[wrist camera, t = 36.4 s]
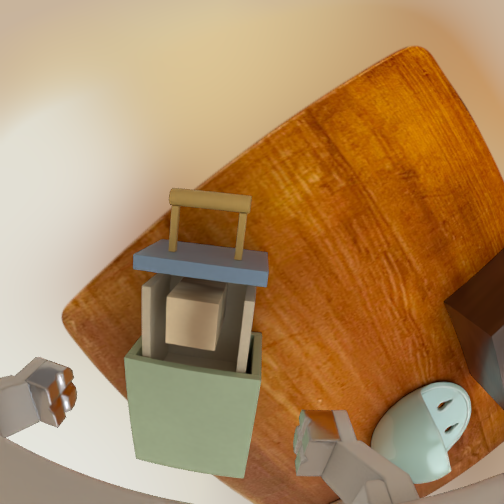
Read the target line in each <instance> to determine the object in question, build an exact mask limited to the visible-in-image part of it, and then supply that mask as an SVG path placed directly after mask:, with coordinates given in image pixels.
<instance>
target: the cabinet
mask: <svg viewBox="0 0 504 504" xmlns="http://www.w3.org/2000/svg"><path fill="white" fill-rule="evenodd" d="M261 360H262V333H259V332H251V336H250V344H249V351H248V359H247V366H246V373H237V372H229V371H222V370H215V369H208V368H202V367H196V366H190V365H184V364H178V363H173V362H167V361H162V360H157V359H152V358H147V357H142V335H141V337H140V338H139V339H138V340H137V342H136V343H135V344H134V345H133V347H132V348H131V349H130V350H129V352H128V353H127V354H126V355H125V357H124V364H125V376H126V387H127V397H128V405H129V413H130V422H131V428H132V435H133V442H134V448H135V454H136V459H140V460H144V461H147V462H151V463H155V464H160V465H164V466H169V467H174V468H178V469H183V470H188V471H194V472H200V473H207V474H212V475H219V476H227V477H235V478H244V474H245V469H246V463H247V458H248V453H249V447H250V442H251V436H252V431H253V425H254V419H255V414H256V408H257V402H258V396H259V390H260V384H261Z"/></svg>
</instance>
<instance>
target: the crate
mask: <svg viewBox="0 0 504 504" xmlns="http://www.w3.org/2000/svg"><path fill="white" fill-rule="evenodd" d="M444 303H445V306H446V308H447V311H448V313H449V316H450V318H451V321H452V323H453V326H454V328H455V331H456V334H457V336H458V339H459V342H460V345H461V347H462V350H463V353H464V356H465V359H466V362H467V365H468V368H469V371H470V374H471V376H472V377H473V378H474V379H475V380H476V381H477V382H478V383H479V384H480V385H481V386H482V387H483V388H484V389H485V390H486V391H487V393H488V394H489V395H490V396H491V397H492V398H493V399H494V400H495V401H496V402H497V403H498V404H499V405H500V406H501V408H502V409H503V410H504V248H503V249H502V250H501V251H500V252H499V253H498V254H497V255H496V256H495V257H494V258H493V259H492V260H491V261H490V262H489V263H488V264H487V265H486V266H485V267H483V268H482V269H481V270H480V271H479V272H478V273H477V274H476V275H475V276H473V277H472V278H471V279H470V280H469V281H468V282H467V283H465V284H464V285H463V286H462V287H461V288H460V289H458V290H457V291H456V292H455V293H454V294H452V295H451V296H450V297H449V298H448V299H446V300H445V301H444Z"/></svg>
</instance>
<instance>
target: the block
mask: <svg viewBox="0 0 504 504" xmlns="http://www.w3.org/2000/svg"><path fill="white" fill-rule="evenodd" d="M227 291H228V282H220V281H213V280H205V279H198V278H191V277H183V278H182V280H181V281H180V282H179V283H178V284H177V285H176V286H175V288H174V289H173V290H172V291H171V292H170V293H169V295H168V296H167V301H166V337H165V342H166V343H169V344H175V345H180V346H186V347H192V348H198V349H204V350H211V351H215V348H216V345H217V342H218V338H219V335H220V331H221V328H222V325H223V321H224V318H225V311H226V301H227Z"/></svg>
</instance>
